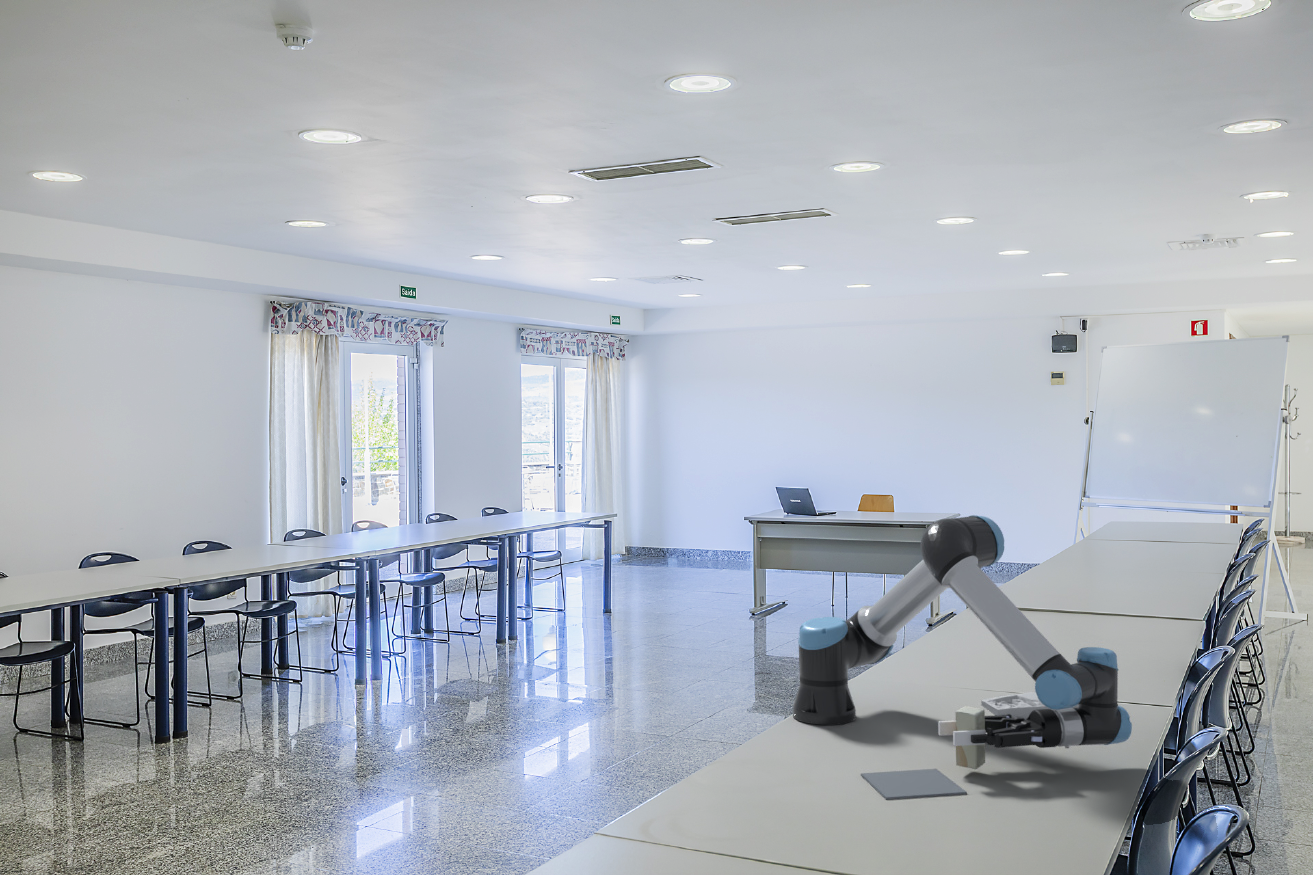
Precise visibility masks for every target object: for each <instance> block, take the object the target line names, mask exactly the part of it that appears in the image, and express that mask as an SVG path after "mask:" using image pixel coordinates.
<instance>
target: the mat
mask: <svg viewBox="0 0 1313 875" xmlns="http://www.w3.org/2000/svg"><path fill="white" fill-rule="evenodd" d="M860 776H861V777H862V778H863V780H865V781H866V782H867V783H868V784H870V786H871V787H872V788H873V789H874V790H876V791H877V793H879V795H881V796H882V797H883V798H884V799H885V800H896V799H897V800H898V799H912V798H913V799H914V798H926V797H927V798H929V797H940V796H941V797H942V796H943V797H944V796H957V795H967V794H968V792H967V790H965V789H964V788H962V787H961V786H960V785H958V784H957V783H956V782H955V781H954V780H952V779H950V778H949V777H948V776H946V775H945V774H944V773H943V772H941V771H940V770H939V769H937V768H926V769H925V768H923V769H910V770H897V771H896V770H893V771H892V770H891V771H879V772H878V771H877V772H862V773H860Z"/></svg>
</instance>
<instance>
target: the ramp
mask: <svg viewBox="0 0 1313 875" xmlns="http://www.w3.org/2000/svg"><path fill="white" fill-rule="evenodd" d="M980 703H981V704H980V706H982V707H983V708H984V709H985V710H987V711H988V710H989V711H988V712H990V713H991V714H993V716H995V715H1006V714H1010V715H1012V718H1015V717H1023V718H1024V719H1027V718H1028V717H1029V715H1030V713H1031V712H1032V711H1033V710H1037V709H1050V708H1048V707H1046V706H1045V705H1043V704H1042V703H1041V702H1040V700H1039V699H1038V696H1037V694H1036V691H1029V692H1024V693H1017V694H1008V695H1002V696H1001V695H1000V696H996V697H990V698H984V699H981V702H980ZM1076 707H1078V704H1077V705H1076V706H1073V707H1072V708H1076Z"/></svg>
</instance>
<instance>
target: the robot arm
mask: <svg viewBox="0 0 1313 875" xmlns="http://www.w3.org/2000/svg"><path fill="white" fill-rule="evenodd" d="M1004 551H1005V538H1004V534H1003V531H1002V530H1001V528H1000V527H999V525H998V524H997V523H996V522H995V521H994V520H993V519H991V518H989V517H987V516H983V515H974V514H973V515H969V516H963V517H953V518H942V519H938V520H936V521H933V523H931V524H929V526H927V528H926V529H925V530H924V532H923V534H922V536H921V539H920V554H921V557H922V560H921V561H920V562H919V563H917V564H915V566H914V567H913V568H912V569H911V570H909V572H908V573H907V574H905V575H904V576H903V577H902V578H901V579H900V580H899V581H898V582H897V583H895V585H893V587H891V589H889V590H888V591H887V592H886V593H885V594H883V596H882V597H881V598H880V599H879V600H877V601H876V602H875V603H874V604H873V605H864V606H861V608H859V609H858V610H857V611H856V612H855V613H854V614H853V615H851V617H849V618H847V619H844V618H841V617H837V616H836V617H835V616H824V617H816V618H811V619H809V620H806V621H805V622H803V623H802V624H801V625H800V627H799V630H798V631H799V633H798V638H797V639H798V662H799V663H798V664H799V666H798V667H799V669H798V671H799V686H798V689H797V691H796V692H797V693H796V696H795V697H794V702H793V704H792V717H793V718H794V719H795V720H796V721H799V722H802V723H805V724H811V725H820V726H822V725H825V726H827V725H828V726H833V725H843V724H847V723H851V722H853V721H854V720H856V717H857V716H856V712H857V709H856V706H855V702H854V701H853V700H854V699H853V697H852V694H851V691H850V688H849V680H848V679H849V677H848V676H849V671H848V670H849V669H854V668H858V667H861V666H863V667H864V666H866V665H874V664H877V663H880V662H882V661H883V660H884V659H886V658H888V656H889V655H890V654H891V653H892V651H893V648H894V644H895V643H896V641H897V639H898V634H897V633H898V632H900V630H901V629H903V628H904V627H905V626H906V625H907V624H908V623H909V622H910V621H912V620H913V619H914V618H915V617H916V616H918V615H919V614H920V613H921V612H922V611H923V610H924V609H926V608H927V607H928V606H929V605H930V604H931V603H932V602H934V601H935V600H936V599H937V598H938V597H939V596H940V595H941V594H942V593H944V592H945V591H946V590H947V589H950V590H952V592H954V594H955V595H956V596H957V597H958V598H959V599H960V600H961V602H963V604H964V605H965V606H966V607H967V608H968V609H969V610H970V612H971V613H972V614H974V615H975V617H976V618H977V619H978V620H979V621H980V623H981V624H983V626H984V627H985V628H986V629H987V630H988V631H989V633H991V635H992V636H993V637H994V638H995V639H996V640H997V641H998V642H999V644H1001V645H1002V647H1004V649H1005V650H1006V651H1007V653H1008V654H1010V655H1011V656H1012V658H1014V660H1015V661H1016V662H1017V664H1019V665H1020V666H1021V667H1022V668H1023V670H1024V671H1025V672H1026V673H1027V674H1028V675H1029V676H1030V677H1031V679H1033V681H1034V682H1035V683H1034V690H1035V691H1036V694H1037V696H1038V699H1039V700H1040V702H1041V703H1042V704H1043V705H1045V706H1046V707H1048V708H1050V709H1037V710H1033V711H1032V712H1031V713H1030V715H1029V717H1028V718H1027V719H1024V718H1023V717H1015V718H1012V715H1010V714H1006V715H985V730H967V731H956V719H955V720H941V721H940V720H939V721H937V723H938V724H937V726H938V733H937V734H938V735H939V736H941V737H942V736H952V745H953V746H954V747H956V746H964V745H982V744H985V745H986V744H987V745H989V746H994V747H995V748H997V749H1002V748H1012V747H1025V746H1036V747H1037V748H1040V749H1042V748H1043V749H1044V748H1046V749H1047V748H1056V747H1059V748H1060V747H1061V748H1062V747H1064V748H1065V749H1070V747H1076V746H1077V747H1078V746H1095V745H1097V746H1100V745H1101V746H1103V745H1104V746H1108V745H1114V744H1116V745H1117V744H1121V743H1125V742H1126V741H1127V740H1128V739H1130V737H1131V735H1132V730H1133V724H1132V722H1131V720H1130V719H1131V716H1130V713H1129V712H1128V711H1127V710H1126V709H1125V708H1124V707H1123V706H1121V705H1119V703H1118V697H1119V696H1118V695H1119V694H1118V693H1119V692H1118V688H1119V687H1118V685H1119V681H1118V679H1119V678H1118V677H1119V676H1118V674H1119V672H1118V671H1119V668H1118V656H1117V654H1116V652H1115V651H1114V650H1112V649H1109V648H1104V647H1099V646H1097V647H1095V646H1087V647H1081V648H1080V649H1078V652H1077V658H1076V662H1075V663H1072V664H1071V663H1070V662H1069V661H1068V660H1067V659H1066V658H1065V657H1064V656H1063V655H1062V653H1060V652H1059V651H1058V650H1057V649H1056V647H1055V646H1053V644H1052V643H1051V642H1050V641H1049V640H1048V639H1047V637H1045V636H1044V635H1043V634H1042V633H1041V631H1040V630H1038V628H1037V627H1036V626H1035V625H1034V624H1033V623H1032V622H1031V621H1030V620H1029V618H1028V617H1026V616H1025V614H1024V613H1023V612H1022V611H1021V610H1020V609H1019V608H1018V607H1017V606H1016V604H1014V602H1012V600H1011V599H1010V598H1009V597H1008V596H1007V594H1005V593H1004V592H1003V591H1002V589H1001V588H1000V587H998V586H997V584H996V583H995V582H994V581H993V580H992V579H991V578H990V577H989V576H988V575H987V574H986V572H985V571H983V570H982V569H983V568H984V567H991V566H992V565H995V564H997V563H998V561H1000V560H1001V558H1002V556H1003V554H1004ZM1077 704H1078V707H1076V708H1072V707H1073V706H1076V705H1077ZM794 714H796V715H795V716H794Z"/></svg>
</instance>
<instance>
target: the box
mask: <svg viewBox="0 0 1313 875" xmlns="http://www.w3.org/2000/svg"><path fill="white" fill-rule="evenodd" d="M985 710H986V709H985V708H984V709H983V708H978V707H972V706H968V705H964V706H962V707H961V708H959V709H958V710H956V711H955V712H954V713H955V714H954V715H955V720H956V731H967V730H985V716H986V715H985V713H986V711H985ZM985 763H986V744H982V745H964V746H955V765H956V766H957V767H963V768H967V769H972V770H977V769H979V768H981V767H982V766H983V765H984V764H985Z"/></svg>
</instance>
